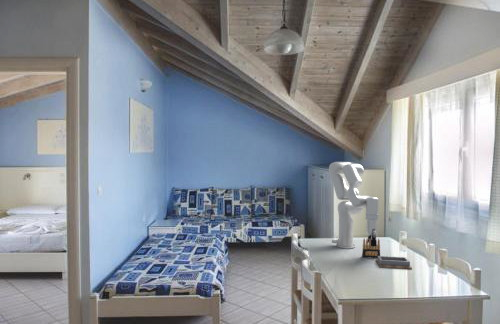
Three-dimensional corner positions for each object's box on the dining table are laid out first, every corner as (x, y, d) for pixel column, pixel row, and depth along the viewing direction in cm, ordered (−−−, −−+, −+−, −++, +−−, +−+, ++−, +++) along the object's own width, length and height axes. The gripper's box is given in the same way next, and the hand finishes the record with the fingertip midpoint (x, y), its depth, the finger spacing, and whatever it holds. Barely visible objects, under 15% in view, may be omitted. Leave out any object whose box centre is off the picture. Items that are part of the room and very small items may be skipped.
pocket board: (380, 267, 209) (380, 261, 209) (375, 260, 223) (375, 254, 223) (411, 269, 206) (412, 263, 206) (405, 262, 220) (405, 256, 220)
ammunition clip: (362, 257, 230) (363, 238, 229) (362, 256, 231) (362, 237, 231) (380, 258, 228) (380, 238, 228) (379, 257, 230) (379, 238, 230)
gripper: (363, 214, 238) (363, 241, 238) (368, 218, 221) (368, 247, 221) (375, 215, 237) (375, 241, 237) (381, 219, 220) (381, 247, 220)
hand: (372, 244), depth 229 cm, fingers open, 9 cm apart
